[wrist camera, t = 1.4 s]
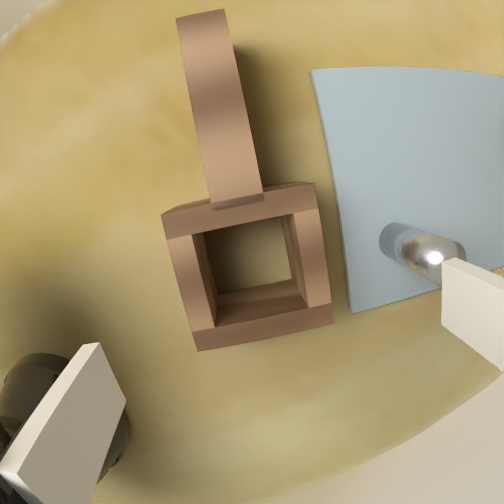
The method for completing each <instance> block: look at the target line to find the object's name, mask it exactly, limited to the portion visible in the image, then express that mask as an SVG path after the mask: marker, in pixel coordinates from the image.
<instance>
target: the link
mask: <svg viewBox="0 0 504 504" xmlns="http://www.w3.org/2000/svg"><path fill="white" fill-rule="evenodd" d="M176 23H177V29H178V35H179V41H180V47H181V52H182V58H183V64H184V69H185V75H186V80H187V85H188V91H189V96H190V101H191V107H192V112H193V117H194V122H195V127H196V132H197V138H198V143H199V148H200V153H201V157H202V162H203V167H204V172H205V177H206V182H207V187H208V191H209V196H210V199H206V200H201V201H197V202H192V203H188V204H183V205H179V206H176V207H174V208H172V209H171V210H169V211H167V212H165V213H163V214H161V219H162V223H163V227H164V231H165V235H166V240H167V244H168V248H169V252H170V256H171V259H172V263H173V267H174V271H175V275H176V278H177V282H178V286H179V289H180V293H181V297H182V300H183V304H184V307H185V311H186V314H187V318H188V321H189V324H190V328H191V331H192V334H193V338H194V341H195V344H196V347H197V351H198V352H199V351H205V350H211V349H217V348H222V347H228V346H233V345H238V344H243V343H249V342H254V341H259V340H263V339H268V338H273V337H278V336H282V335H287V334H291V333H296V332H300V331H304V330H308V329H313V328H317V327H321V326H325V325H329V324H333V323H334V320H333V311H332V302H331V294H330V286H329V278H328V270H327V263H326V256H325V249H324V242H323V235H322V229H321V222H320V216H319V210H318V204H317V198H316V192H315V187H314V183H304V182H291V183H285V184H280V185H274V186H269V187H264V188H262V184H261V179H260V174H259V169H258V164H257V159H256V154H255V149H254V144H253V140H252V135H251V130H250V125H249V120H248V115H247V111H246V106H245V101H244V96H243V92H242V87H241V82H240V78H239V73H238V69H237V64H236V59H235V55H234V50H233V46H232V41H231V37H230V32H229V28H228V24H227V19H226V15H225V11H224V9H219V10H213V11H208V12H203V13H198V14H193V15H188V16H184V17H180V18H176ZM277 216H281V219H282V225H283V230H284V236H285V241H286V247H287V253H288V258H289V264H290V270H291V276H292V279H291V280H286V281H282V282H277V283H272V284H268V285H263V286H258V287H253V288H248V289H243V290H239V291H234V292H229V293H224V294H219V295H218V292H217V288H216V284H215V280H214V276H213V272H212V267H211V263H210V259H209V255H208V250H207V246H206V242H205V237H204V233H203V232H205V231H209V230H214V229H219V228H223V227H228V226H233V225H238V224H243V223H247V222H252V221H257V220H262V219H267V218H272V217H277Z"/></svg>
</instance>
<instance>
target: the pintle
mask: <svg viewBox="0 0 504 504" xmlns="http://www.w3.org/2000/svg"><path fill="white" fill-rule="evenodd" d="M379 247H380V250H381V252H382V253H383V254H384V255H385V256H387V257H388V258H390V259H392V260H394V261H396V262H397V263H399V264H401V265H403V266H405V267H406V268H408V269H410V270H412V271H413V272H415V273H417V274H419V275H420V276H422V277H424V278H426V279H427V280H429V281H431V282H433V283H434V284H436V285H438V286H440V287H442V264H441V262H443V261H446V260H449V259H452V258H455V257H456V258H458V259H461V260H463V261H466V262H467V257H466V252H465V249H464V247H463V246H462V245H461V244H460V243H458V242H456V241H453V240H450V239H447V238H444V237H441V236H438V235H435V234H432V233H429V232H426V231H423V230H420V229H417V228H414V227H411V226H408V225H404V224H401V223H397V222H394V223H390V224H388V225H387V226H385V227H384V229H383V230H382V232H381V234H380V237H379Z"/></svg>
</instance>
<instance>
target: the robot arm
mask: <svg viewBox="0 0 504 504" xmlns="http://www.w3.org/2000/svg"><path fill="white" fill-rule="evenodd" d="M441 264H442V312H441V325H443V326H444V327H445V328H447V329H448V330H449V331H451V332H452V333H453V334H455V335H456V336H457V337H458V338H460V339H461V340H462V341H464V342H465V343H466V344H468V345H469V346H470V347H472V348H473V349H474V350H475V351H477V352H478V353H479V354H481V355H482V356H483V357H484V358H486V359H487V360H488V361H490V362H491V363H492V364H493V365H495V366H496V367H497V368H498V369H500V370H501V371H502V372H503V373H504V278H503V277H501V276H499V275H496V274H494V273H492V272H489V271H487V270H485V269H482V268H480V267H478V266H475V265H473V264H470V263H468V262H466V261H463V260H461V259H458V258H456V257H455V258H452V259H449V260H446V261H443V262H441ZM125 404H126V399H125V397H124V395H123V392H122V390H121V388H120V386H119V384H118V382H117V380H116V378H115V376H114V374H113V371H112V369H111V367H110V365H109V363H108V360H107V358H106V356H105V353H104V351H103V349H102V346H101V344H100V342H97V343H90V344H83V345H82V346H81V348H80V349H79V350H78V352H77V353H76V354H75V356H74V357H73V358H72V360H71V361H68V360H66V359H63V358H60V357H57V356H54V355H49V354H32V355H29V356H26V357H24V358H22V359H21V360H20V361H19V362H18V363H17V364H16V365H15V366H14V367H13V368H12V369H11V370H10V371H9V373H8V374H7V376H6V378H5V381H4V386H3V388H2V391H1V394H0V504H90V502H91V499H92V496H93V493H94V490H95V487H96V484H97V483H98V482H99V481H100V480H101V479H102V478H103V477H104V476H105V474H106V473H107V472H108V470H109V468H111V467H113V466H114V465H115V464H117V463H118V462H119V460H120V459H121V458H122V456H123V454H124V452H125V449H126V446H127V443H128V440H129V436H130V427H129V422H128V419H127V416H126V414H125V412H124V410H123V409H124V407H125Z"/></svg>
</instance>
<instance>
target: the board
mask: <svg viewBox="0 0 504 504" xmlns="http://www.w3.org/2000/svg"><path fill="white" fill-rule="evenodd" d="M310 75H311V79H312V84H313V88H314V92H315V96H316V101H317V105H318V109H319V114H320V119H321V123H322V128H323V133H324V138H325V143H326V148H327V153H328V158H329V164H330V169H331V175H332V181H333V186H334V192H335V199H336V205H337V211H338V218H339V225H340V232H341V239H342V247H343V254H344V263H345V271H346V280H347V289H348V300H349V310H350V312H351V313H352V314H353V313H357V312H361V311H364V310H368V309H372V308H375V307H379V306H382V305H386V304H389V303H393V302H396V301H400V300H403V299H406V298H410V297H413V296H416V295H419V294H423V293H426V292H429V291H432V290H435V289H438V288H441V287H440V286H438V285H436V284H434V283H433V282H431V281H429V280H427V279H426V278H424V277H422V276H420V275H419V274H417V273H415V272H413V271H412V270H410V269H408V268H406V267H405V266H403V265H401V264H399V263H397V262H396V261H394V260H392V259H390V258H388V257H387V256H385V255H384V254H383V253H382V252H381V250H380V247H379V237H380V234H381V232H382V230H383V229H384V227H385V226H387V225H388V224H390V223H394V222H397V223H401V224H404V225H408V226H411V227H414V228H417V229H420V230H423V231H426V232H429V233H432V234H435V235H438V236H441V237H444V238H447V239H450V240H453V241H456V242H458V243H460V244H461V245H462V246H463V247H464V249H465V252H466V257H467V262H468V263H470V264H473V265H475V266H478V267H480V268H482V269H485V270H487V271H490V270H493V269H496V268H498V267H501V266H504V77H503V76H497V75H490V74H483V73H476V72H468V71H459V70H449V69H436V68H420V67H345V68H327V69H314V70H311V71H310Z"/></svg>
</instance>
